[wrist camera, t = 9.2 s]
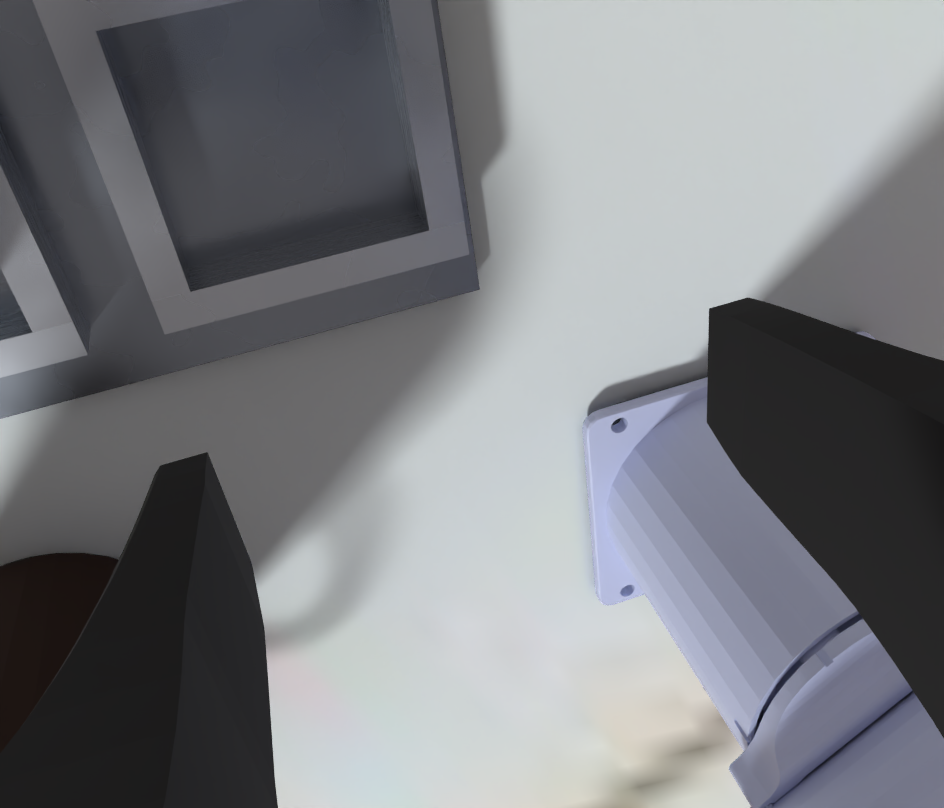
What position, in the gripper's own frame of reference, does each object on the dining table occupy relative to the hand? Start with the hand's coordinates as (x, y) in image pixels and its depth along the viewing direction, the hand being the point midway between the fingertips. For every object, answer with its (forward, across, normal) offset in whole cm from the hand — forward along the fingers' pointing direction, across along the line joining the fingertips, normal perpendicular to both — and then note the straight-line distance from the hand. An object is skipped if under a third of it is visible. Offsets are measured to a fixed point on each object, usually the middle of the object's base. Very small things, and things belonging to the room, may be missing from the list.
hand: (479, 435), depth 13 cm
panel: (+10, +6, -2) cm, 12 cm away
